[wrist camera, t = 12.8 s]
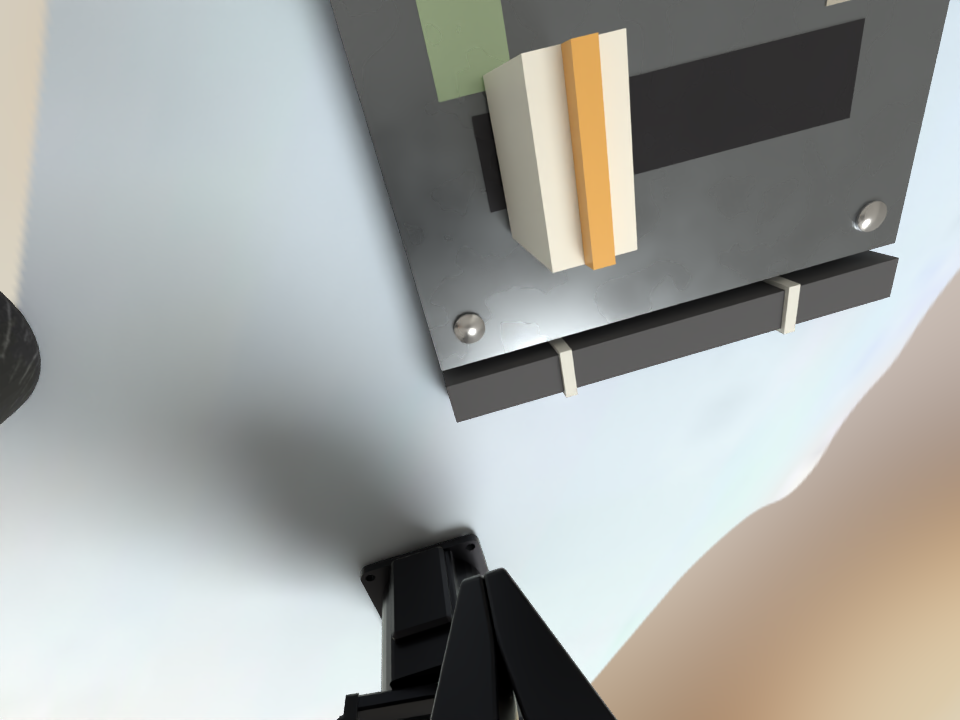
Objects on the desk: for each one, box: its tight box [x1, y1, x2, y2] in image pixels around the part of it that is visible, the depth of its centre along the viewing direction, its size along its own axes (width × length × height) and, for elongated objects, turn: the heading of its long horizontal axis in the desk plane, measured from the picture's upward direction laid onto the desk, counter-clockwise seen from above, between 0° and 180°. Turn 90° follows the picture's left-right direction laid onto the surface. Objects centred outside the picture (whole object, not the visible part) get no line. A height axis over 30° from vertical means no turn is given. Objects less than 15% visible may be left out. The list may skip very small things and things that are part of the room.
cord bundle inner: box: [443, 250, 899, 422], centre depth 20 cm, size 2×20×2 cm, turn 102°
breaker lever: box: [483, 28, 637, 273], centre depth 13 cm, size 5×2×5 cm, turn 12°
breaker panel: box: [330, 0, 950, 371], centre depth 16 cm, size 14×20×2 cm
